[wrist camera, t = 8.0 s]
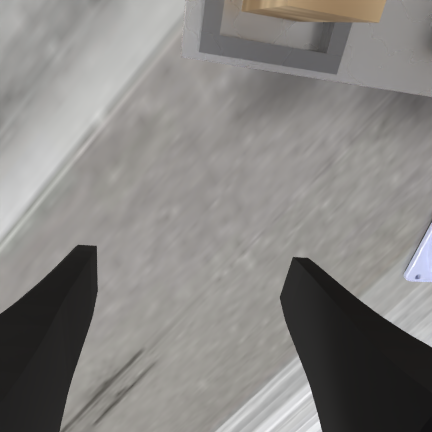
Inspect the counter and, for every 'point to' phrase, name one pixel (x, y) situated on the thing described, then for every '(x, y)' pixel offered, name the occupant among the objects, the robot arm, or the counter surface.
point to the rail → (318, 44)
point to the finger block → (318, 10)
